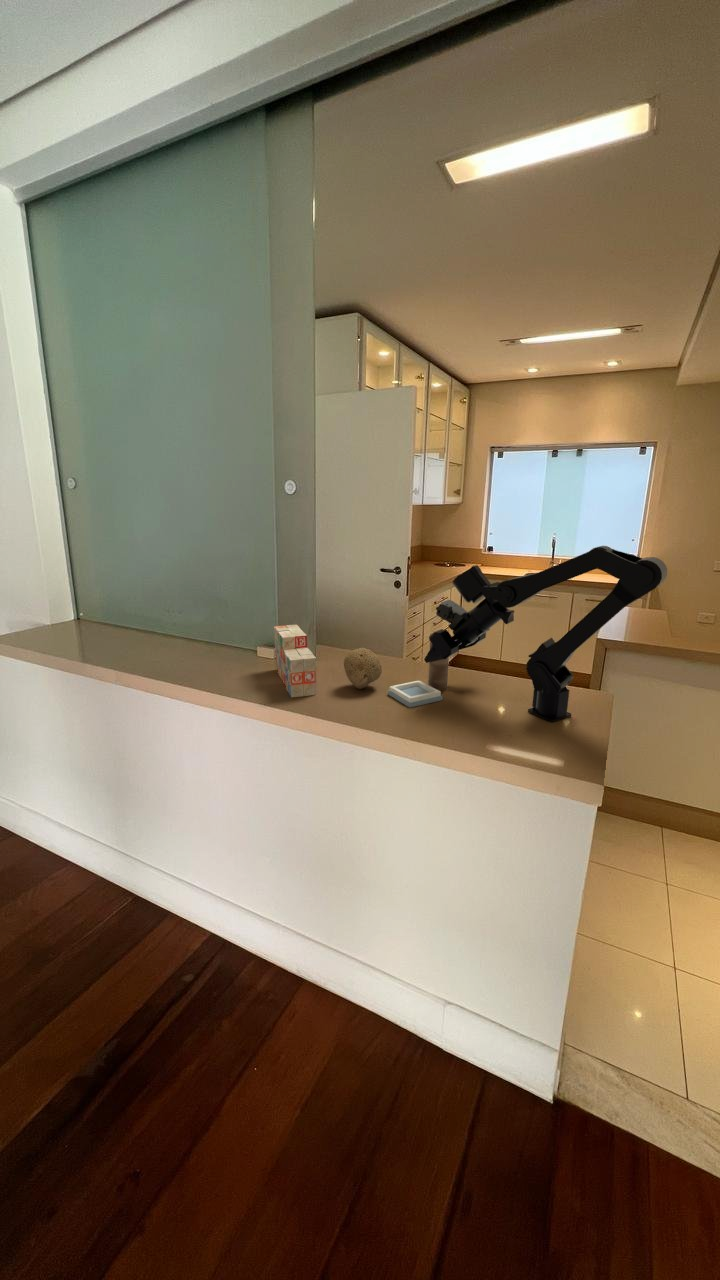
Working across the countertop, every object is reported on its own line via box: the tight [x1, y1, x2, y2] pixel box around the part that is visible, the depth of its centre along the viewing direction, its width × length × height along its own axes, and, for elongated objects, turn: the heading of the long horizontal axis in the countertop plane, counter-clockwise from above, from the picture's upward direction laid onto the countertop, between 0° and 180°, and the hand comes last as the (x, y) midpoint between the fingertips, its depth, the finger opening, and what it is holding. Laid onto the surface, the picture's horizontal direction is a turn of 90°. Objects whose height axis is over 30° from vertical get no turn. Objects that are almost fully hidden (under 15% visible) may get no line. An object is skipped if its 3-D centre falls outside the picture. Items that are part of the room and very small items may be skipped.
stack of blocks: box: [273, 624, 317, 698], centre depth 128 cm, size 21×6×12 cm, turn 18°
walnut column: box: [427, 632, 450, 691], centre depth 124 cm, size 5×5×13 cm
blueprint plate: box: [387, 680, 443, 708], centre depth 119 cm, size 9×9×2 cm
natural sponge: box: [343, 647, 383, 690], centre depth 123 cm, size 9×9×10 cm
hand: (435, 656), depth 124 cm, fingers open, 9 cm apart
